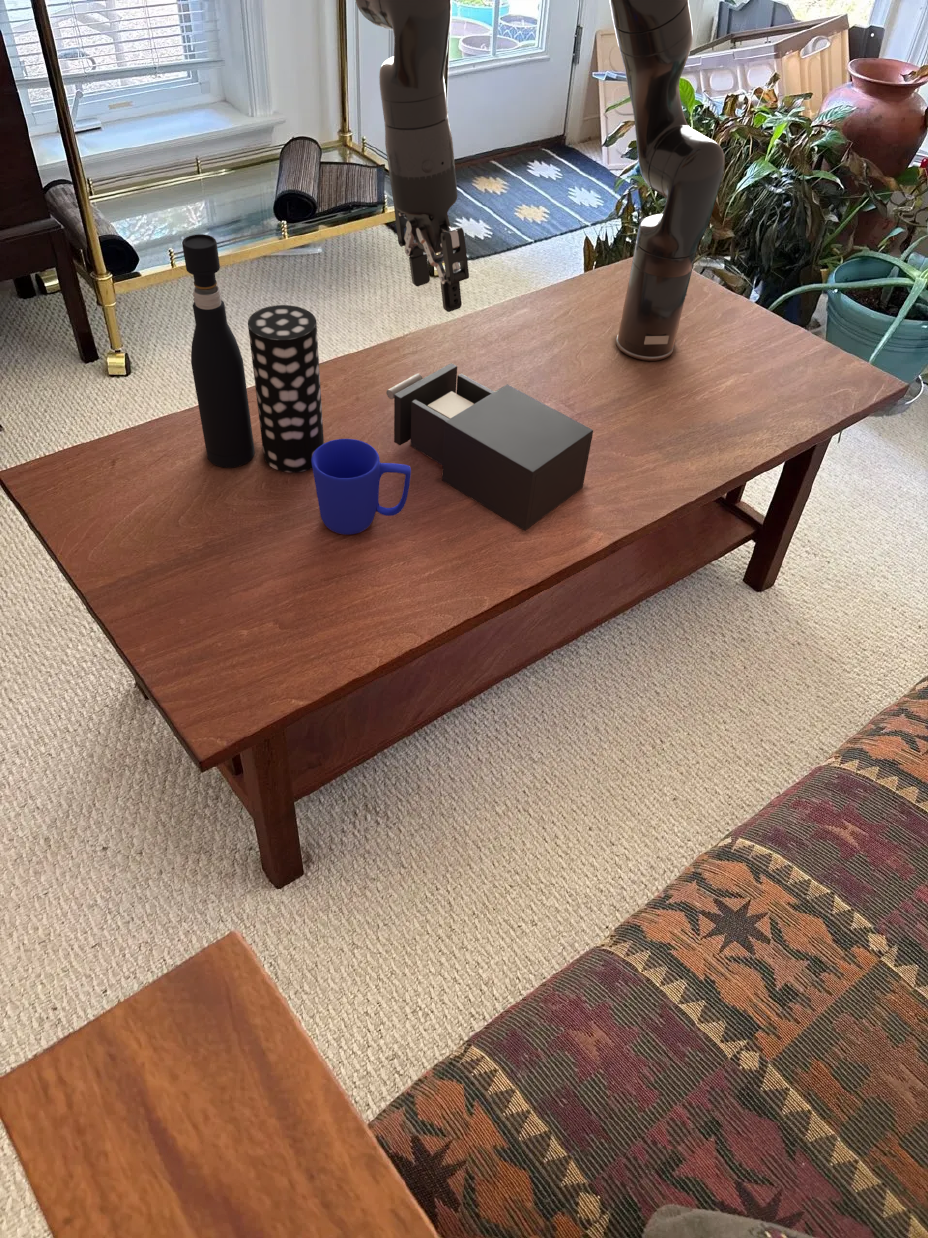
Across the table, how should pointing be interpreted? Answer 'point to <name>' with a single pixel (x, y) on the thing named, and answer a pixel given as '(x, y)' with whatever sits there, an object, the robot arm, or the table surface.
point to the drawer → (419, 418)
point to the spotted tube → (287, 385)
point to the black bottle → (217, 362)
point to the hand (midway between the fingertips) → (436, 296)
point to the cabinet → (515, 455)
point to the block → (450, 405)
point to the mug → (352, 484)
